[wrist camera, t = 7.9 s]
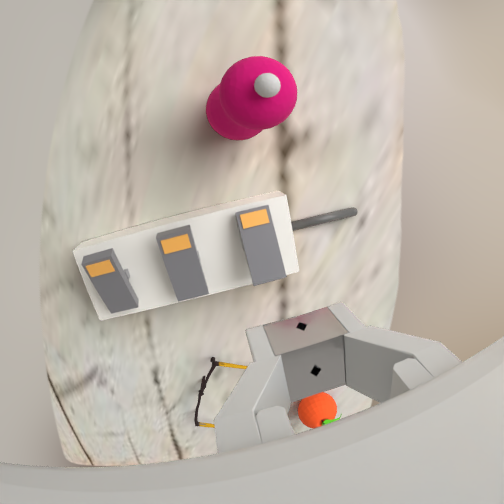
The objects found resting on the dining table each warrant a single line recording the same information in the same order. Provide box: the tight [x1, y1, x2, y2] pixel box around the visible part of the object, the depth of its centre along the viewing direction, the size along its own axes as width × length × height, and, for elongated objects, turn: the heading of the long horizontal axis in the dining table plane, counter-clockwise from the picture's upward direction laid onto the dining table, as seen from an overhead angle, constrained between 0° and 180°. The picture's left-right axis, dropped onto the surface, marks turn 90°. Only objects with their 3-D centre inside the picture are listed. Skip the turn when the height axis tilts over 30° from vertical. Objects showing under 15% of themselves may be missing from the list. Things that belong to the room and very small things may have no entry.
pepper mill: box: [206, 56, 297, 140], centre depth 28 cm, size 7×7×20 cm
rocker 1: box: [81, 248, 139, 314], centre depth 35 cm, size 8×4×2 cm, turn 13°
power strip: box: [72, 191, 357, 321], centre depth 40 cm, size 10×38×5 cm, turn 102°
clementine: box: [298, 392, 341, 428], centre depth 52 cm, size 8×7×7 cm
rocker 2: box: [156, 225, 209, 302], centre depth 36 cm, size 8×4×2 cm, turn 12°
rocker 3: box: [235, 205, 287, 286], centre depth 37 cm, size 8×4×2 cm, turn 11°
